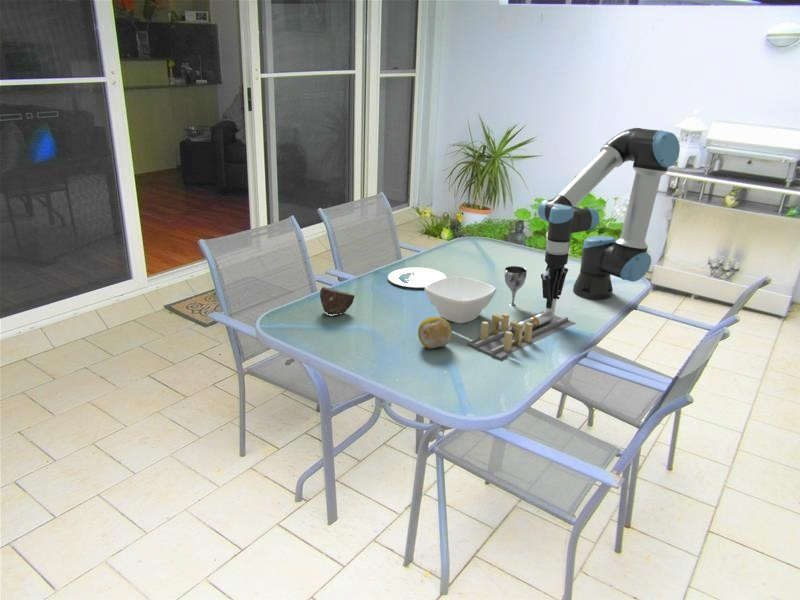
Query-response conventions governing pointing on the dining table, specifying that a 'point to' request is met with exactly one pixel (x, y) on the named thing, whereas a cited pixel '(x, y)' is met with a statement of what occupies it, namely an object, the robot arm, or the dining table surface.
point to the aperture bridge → (517, 326)
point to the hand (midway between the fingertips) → (549, 315)
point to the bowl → (459, 297)
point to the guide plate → (504, 339)
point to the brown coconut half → (335, 300)
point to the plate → (416, 277)
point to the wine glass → (515, 279)
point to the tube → (536, 321)
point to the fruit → (434, 332)
